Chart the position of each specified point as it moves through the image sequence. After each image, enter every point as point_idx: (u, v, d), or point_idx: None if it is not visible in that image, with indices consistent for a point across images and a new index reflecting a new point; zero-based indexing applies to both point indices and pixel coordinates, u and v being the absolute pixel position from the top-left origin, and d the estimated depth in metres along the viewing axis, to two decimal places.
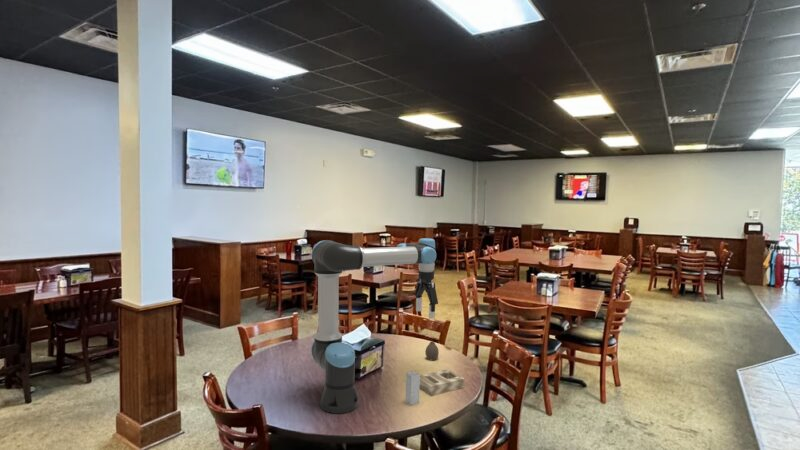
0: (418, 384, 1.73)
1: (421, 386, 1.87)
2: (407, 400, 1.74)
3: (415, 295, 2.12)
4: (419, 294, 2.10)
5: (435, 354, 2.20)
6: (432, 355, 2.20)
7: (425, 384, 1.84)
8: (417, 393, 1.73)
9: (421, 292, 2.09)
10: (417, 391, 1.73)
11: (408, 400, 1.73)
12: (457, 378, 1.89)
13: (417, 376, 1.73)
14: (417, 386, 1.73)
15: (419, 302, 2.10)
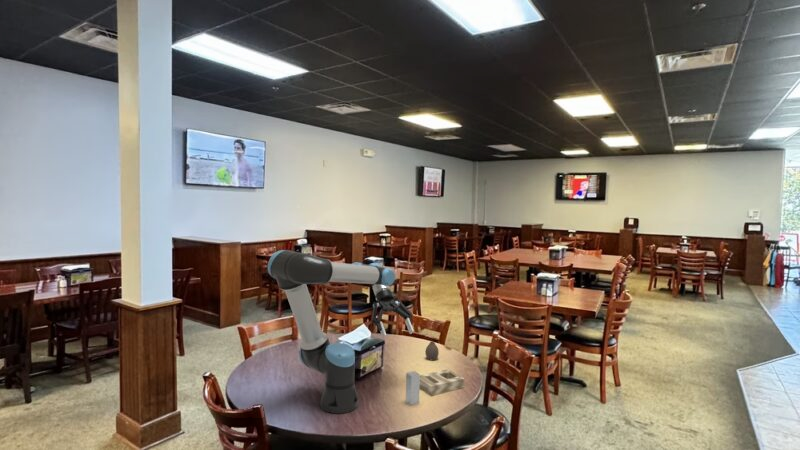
0: (418, 384, 1.73)
1: (421, 386, 1.87)
2: (407, 400, 1.74)
3: (409, 318, 1.93)
4: (402, 316, 1.92)
5: (435, 354, 2.20)
6: (432, 355, 2.20)
7: (425, 384, 1.84)
8: (417, 393, 1.73)
9: (400, 313, 1.92)
10: (417, 391, 1.73)
11: (408, 400, 1.73)
12: (457, 378, 1.89)
13: (417, 376, 1.73)
14: (417, 386, 1.73)
15: (407, 323, 1.89)
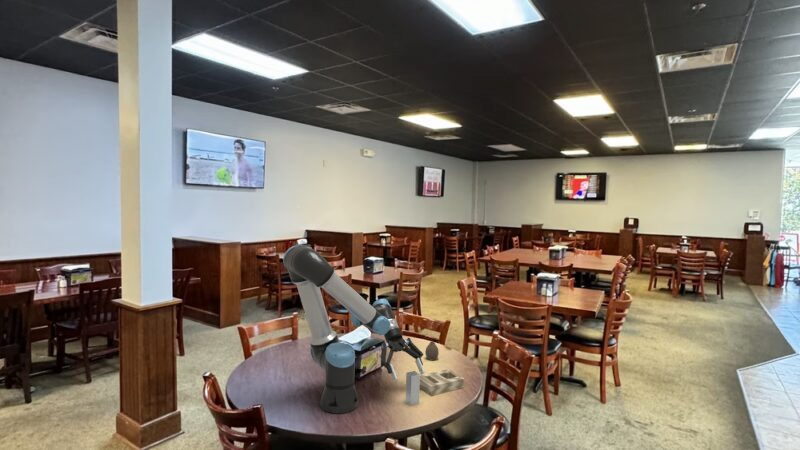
0: (418, 384, 1.73)
1: (421, 386, 1.87)
2: (407, 400, 1.74)
3: None
4: (412, 355, 1.85)
5: (435, 354, 2.20)
6: (432, 355, 2.20)
7: (425, 384, 1.84)
8: (417, 393, 1.73)
9: (410, 353, 1.85)
10: (417, 391, 1.73)
11: (408, 400, 1.73)
12: (457, 378, 1.89)
13: (417, 376, 1.73)
14: (417, 386, 1.73)
15: (418, 364, 1.83)
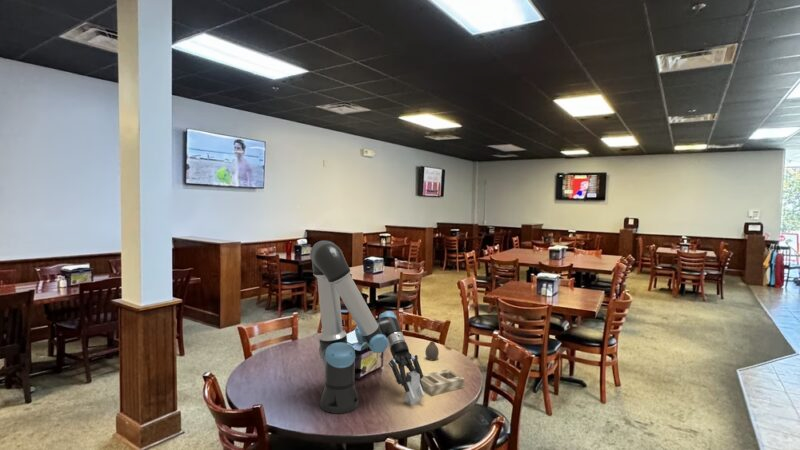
0: (418, 384, 1.73)
1: None
2: (407, 400, 1.74)
3: None
4: None
5: (435, 354, 2.20)
6: (432, 355, 2.20)
7: (425, 384, 1.84)
8: (417, 393, 1.73)
9: None
10: (417, 391, 1.73)
11: (408, 400, 1.73)
12: (457, 378, 1.89)
13: (417, 376, 1.73)
14: (417, 386, 1.73)
15: None
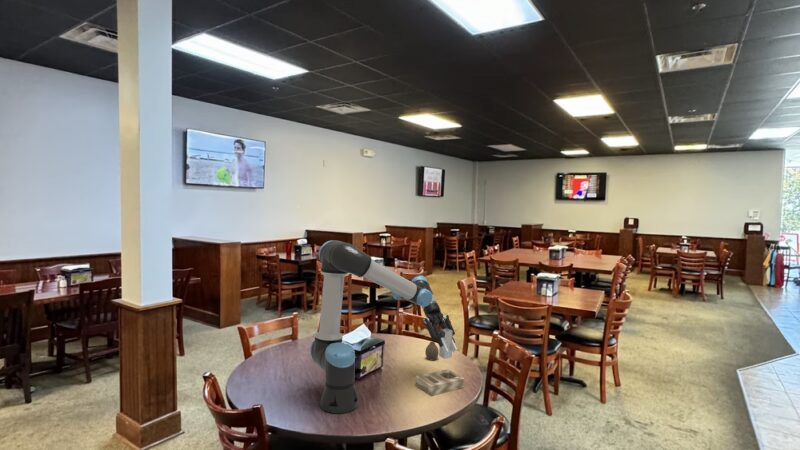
0: (451, 339, 1.88)
1: (421, 386, 1.87)
2: (441, 354, 1.89)
3: None
4: None
5: (435, 354, 2.20)
6: (432, 355, 2.20)
7: (425, 384, 1.84)
8: (450, 348, 1.88)
9: None
10: (450, 346, 1.88)
11: (441, 355, 1.89)
12: (457, 378, 1.89)
13: (450, 332, 1.88)
14: (450, 341, 1.88)
15: None
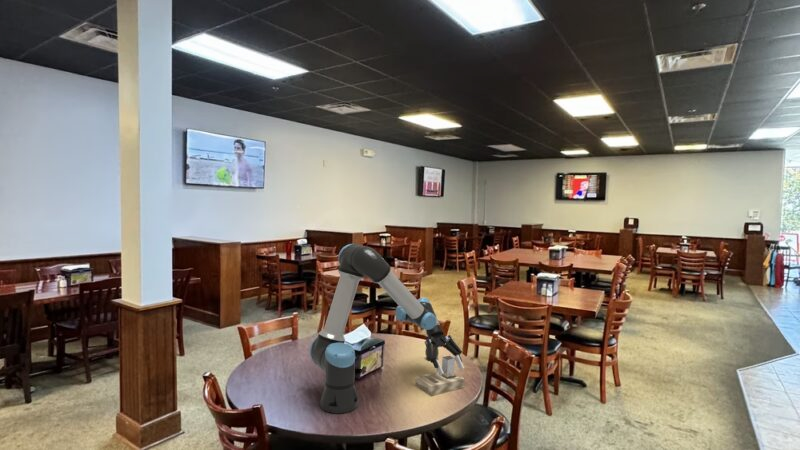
0: (453, 367, 1.91)
1: (421, 386, 1.87)
2: None
3: None
4: (452, 352, 1.97)
5: None
6: None
7: (425, 384, 1.84)
8: (452, 375, 1.91)
9: (450, 349, 1.97)
10: (453, 373, 1.91)
11: None
12: (457, 378, 1.89)
13: (452, 360, 1.91)
14: (452, 369, 1.91)
15: (457, 360, 1.95)
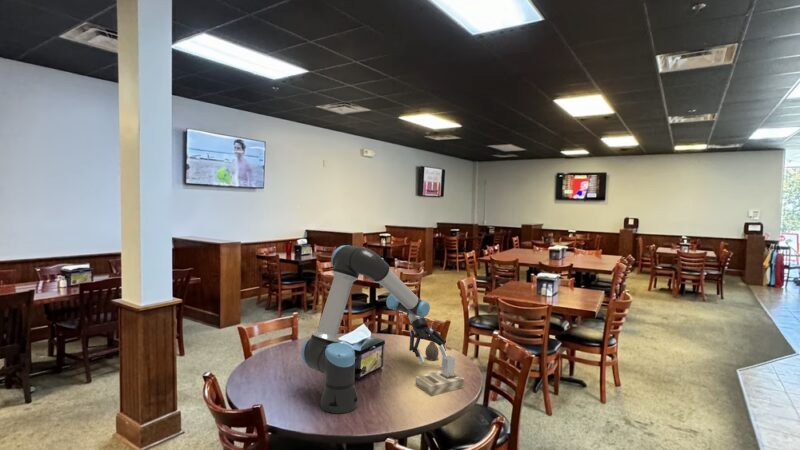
0: (453, 367, 1.91)
1: (421, 386, 1.87)
2: None
3: None
4: (437, 342, 2.09)
5: (435, 354, 2.20)
6: (432, 355, 2.20)
7: (425, 384, 1.84)
8: (452, 375, 1.91)
9: (434, 340, 2.09)
10: (453, 373, 1.91)
11: None
12: (457, 378, 1.89)
13: (452, 360, 1.91)
14: (452, 369, 1.91)
15: (441, 349, 2.07)
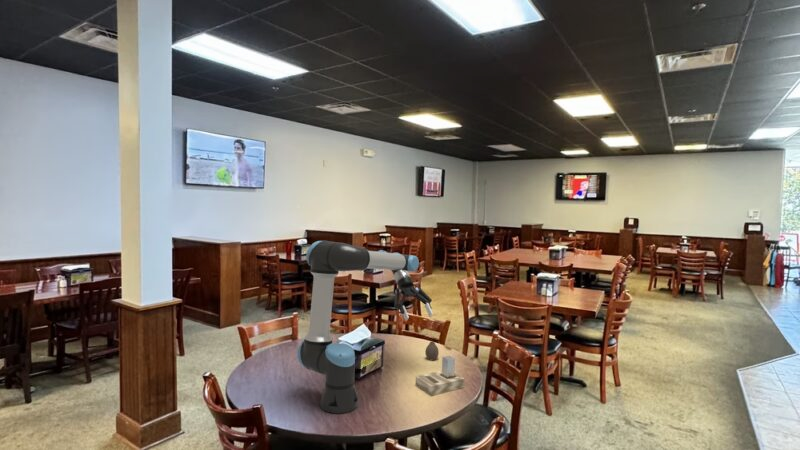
0: (453, 367, 1.91)
1: (421, 386, 1.87)
2: None
3: None
4: (422, 301, 2.08)
5: (435, 354, 2.20)
6: (432, 355, 2.20)
7: (425, 384, 1.84)
8: (452, 375, 1.91)
9: (420, 298, 2.08)
10: (453, 373, 1.91)
11: None
12: (457, 378, 1.89)
13: (452, 360, 1.91)
14: (452, 369, 1.91)
15: (427, 307, 2.06)
